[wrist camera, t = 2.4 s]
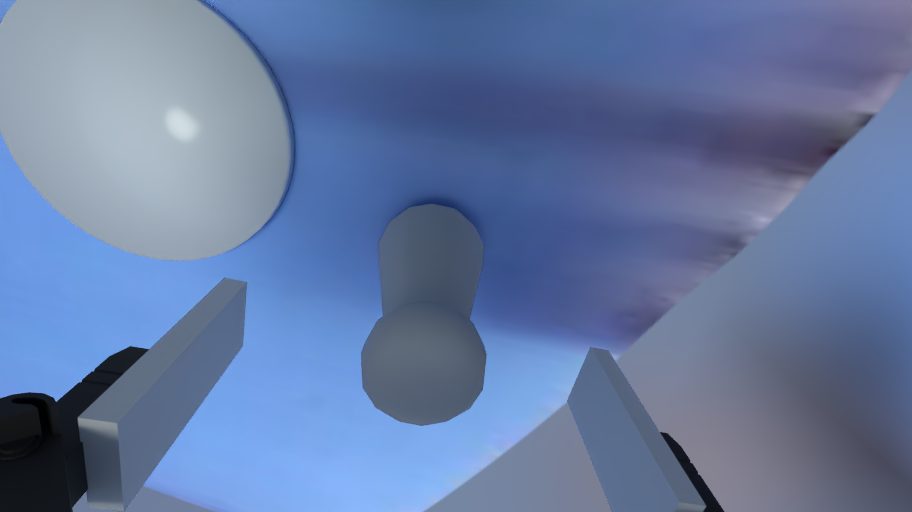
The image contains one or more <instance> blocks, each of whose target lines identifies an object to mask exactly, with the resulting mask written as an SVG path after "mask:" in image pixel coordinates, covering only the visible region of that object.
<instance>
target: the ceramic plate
mask: <svg viewBox="0 0 912 512" xmlns="http://www.w3.org/2000/svg"><path fill="white" fill-rule="evenodd" d="M0 132H1V134H2V137H3V139H4V141H5V144H6V146H7V147H8V149H9V151H10V153H11V155H12V157H13V158H14V160H15V162H16V163H17V165H18V166H19V168H20V169H21V171H22V172H23V174H24V175H25V176H26V178H27V179H28V180H29V182H30V183H31V184H32V185H33V186H34V188H35V189H36V190H37V191H38V192H39V194H40V195H41V196H42V197H43V198H44V199H45V200H46V201H47V202H48V203H49V204H50V205H51V206H52V207H53V208H54V209H56V210H57V211H58V212H59V213H60V214H62V215H63V216H64V217H65V218H67V219H68V220H69V221H70V222H72V223H73V224H75V225H76V226H78V227H79V228H81V229H82V230H83V231H85V232H86V233H88V234H90V235H92V236H94V237H95V238H97V239H99V240H101V241H103V242H105V243H107V244H109V245H112V246H114V247H116V248H118V249H121V250H124V251H127V252H130V253H133V254H136V255H140V256H144V257H149V258H154V259H161V260H171V261H188V260H196V259H204V258H208V257H212V256H216V255H219V254H222V253H224V252H227V251H229V250H231V249H234V248H235V247H237V246H238V245H240V244H242V243H243V242H245V241H247V240H248V239H249V238H250V237H251V236H253V235H254V234H255V233H256V232H257V231H258V230H260V229H261V228H262V227H263V226H264V225H265V224H266V223H267V222H268V221H269V220H270V219H271V217H272V216H273V215H274V214H275V213H276V211H277V209H278V208H279V206H280V205H281V203H282V202H283V199H284V197H285V195H286V192H287V190H288V188H289V184H290V181H291V177H292V173H293V165H294V157H295V155H294V135H293V128H292V121H291V118H290V114H289V110H288V107H287V103H286V101H285V98H284V96H283V93H282V91H281V89H280V86H279V84H278V82H277V80H276V78H275V77H274V75H273V73H272V71H271V69H270V67H269V66H268V64H267V63H266V62H265V60H264V59H263V57H262V56H261V54H260V53H259V51H258V50H257V49H256V48H255V47H254V45H253V44H252V43H251V42H250V41H249V40H248V38H247V37H246V36H245V35H244V34H243V33H242V32H241V31H240V30H239V29H238V28H237V27H236V26H235V25H234V24H233V23H232V22H230V21H229V20H228V19H227V18H226V17H225V16H223V15H222V14H221V13H219V12H218V11H217V10H215V9H214V8H213V7H211V6H210V5H209V4H207V3H205V2H203V1H202V0H16V2H15V3H14V4H13V5H12V7H11V8H10V9H9V10H8V12H7V13H6V14H5V16H4V18H3V20H2V22H1V24H0Z"/></svg>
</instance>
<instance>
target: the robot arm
mask: <svg viewBox="0 0 912 512" xmlns="http://www.w3.org/2000/svg"><path fill="white" fill-rule="evenodd" d="M246 289H247V282H243V281H238V280H233V279H227V278H224V279H223V280H222V281H221V282H220V283H219V284H218V285H217V286H215V287H214V288H213V289H212V290H211V291H210V292H209V293H208V294H207V295H206V296H205V297H204V298H203V299H202V300H201V301H200V302H199V303H198V304H197V305H195V306H194V307H193V308H192V309H191V310H190V311H189V312H188V313H187V314H186V315H185V316H184V317H183V318H182V319H181V320H180V321H179V322H178V323H177V324H176V325H174V326H173V327H172V328H171V329H170V330H169V331H168V332H167V333H166V334H165V335H164V336H163V337H162V338H161V339H160V340H159V341H158V342H157V343H156V344H154V345H153V346H152V347H151V348H150V349H144V348H138V347H131V346H130V347H128V348H126V349H124V350H122V351H120V352H118V353H115V354H113V355H111V356H109V357H108V358H107V359H106V360H105V361H104V362H102V363H101V364H100V365H99V366H98V367H97V368H95V370H94V372H91V373H90V374H88V375H87V376H86V377H85V378H84V379H83V380H82V382H81V383H80V382H79V383H78V384H77V385H76V386H74V387H73V388H72V389H71V390H70V391H69V392H67V393H66V394H65V395H64V396H63V397H62V398H60V399H59V400H58V401H57V402H56V401H55V399H54V398H53V397H51V396H48V395H46V394H44V393H30V392H29V393H22V394H14V395H10V396H7V397H3V398H0V512H73V511H72V507H73V506H74V505H75V504H76V502H77V501H78V500H79V499H80V498H81V496H82V495H83V494H84V493H85V492H87V500H88V508H95V509H104V510H113V511H121V512H124V511H125V510H126V508H127V507H128V505H129V504H130V503H131V501H132V500H133V498H134V497H135V496H136V494H137V493H138V491H139V490H140V488H141V487H142V486H143V484H144V483H145V482H146V480H147V479H148V477H149V476H150V475H151V473H152V472H153V470H154V469H155V468H156V466H157V465H158V464H159V462H160V461H161V459H162V458H163V457H164V455H165V454H166V452H167V451H168V450H169V448H170V447H171V445H172V444H173V443H174V441H175V440H176V438H177V437H178V436H179V434H180V433H181V431H182V430H183V429H184V427H185V426H186V424H187V423H188V422H189V420H190V419H191V418H192V416H193V415H194V413H195V412H196V411H197V409H198V408H199V406H200V405H201V404H202V402H203V401H204V399H205V398H206V397H207V395H208V394H209V392H210V391H211V390H212V388H213V387H214V385H215V384H216V383H217V381H218V380H219V378H220V377H221V376H222V374H223V373H224V372H225V370H226V369H227V367H228V366H229V365H230V363H231V362H232V360H233V359H234V358H235V356H236V355H237V353H238V352H239V351H240V349H241V348H242V346H243V335H244V320H245V305H246ZM567 402H568V404H569V407H570V409H571V412H572V414H573V417H574V419H575V422H576V424H577V426H578V429H579V432H580V434H581V436H582V439H583V441H584V444H585V446H586V449H587V451H588V454H589V456H590V459H591V461H592V464H593V466H594V469H595V471H596V474H597V476H598V478H599V481H600V483H601V486H602V488H603V491H604V493H605V496H606V498H607V501H608V503H609V506H610V508H611V511H612V512H724V511H723V509H722V508H721V506H720V505H719V503H718V502H717V500H716V498H715V497H714V496H713V494H712V493H711V491H710V490H709V488H708V486H707V485H706V484H705V482H704V480H703V479H702V478H701V476H700V475H698V471H697V470H696V468H695V467H694V465H693V464H692V463H690V459H689V458H688V456H687V455H686V453H685V452H684V450H683V449H682V447H681V446H680V445H679V444H678V443H677V442H676V441H675V440H673V438H672V437H671V436H669V435H668V434H667V433H662V432H659V430H658V428H657V427H656V425H655V424H654V422H653V421H652V419H651V417H650V416H649V414H648V413H647V411H646V410H645V408H644V406H643V405H642V403H641V402H640V400H639V398H638V397H637V395H636V394H635V392H634V390H633V389H632V387H631V386H630V384H629V383H628V381H627V379H626V378H625V376H624V375H623V373H622V372H621V370H620V368H619V367H618V365H617V364H616V362H615V360H614V359H613V357H612V356H611V354H610V352H609V351H608V350H603V349H598V348H592V347H590V349H589V352H588V354H587V356H586V359H585V361H584V363H583V365H582V368H581V370H580V372H579V375H578V377H577V379H576V382H575V384H574V386H573V388H572V391H571V393H570V395H569V398H568V400H567Z"/></svg>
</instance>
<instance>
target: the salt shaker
mask: <svg viewBox="0 0 912 512" xmlns="http://www.w3.org/2000/svg"><path fill="white" fill-rule="evenodd" d="M378 253H379V270H380V279H381V294H382V309H383V317H381V318H380V319H379V320H378V321H377V322H376V324H375V326H374V327H373V329H372V331H371V333H370V335H369V336H368V338H367V340H366V342H365V344H364V347H363V350H362V352H361V367H362V382H363V389H364V390H365V392H366V393H367V395H368V397H369V398H370V400H371V401H372V403H373V404H374V406H375V407H376V408H377V409H379V410H381V411H382V412H384V413H386V414H387V415H389V416H391V417H392V418H394V419H396V420H398V421H400V422H405V423H410V424H415V425H420V426H423V425H429V424H435V423H441V422H446V421H449V420H450V419H452V418H454V417H456V416H457V415H459V414H461V413H463V412H465V411H466V410H468V409H470V408H471V406H472V405H473V403H474V402H475V400H476V399H477V397H478V396H479V394H480V393H481V391H482V390H483V383H484V374H485V364H486V351H485V348H484V344H483V342H482V340H481V338H480V336H479V334H478V332H477V330H476V328H475V326H474V324H473V323H472V322H471V321H470V320H469V319H470V315H471V310H472V306H473V302H474V298H475V294H476V290H477V287H478V283H479V279H480V275H481V271H482V265H483V255H484V245H483V243H482V241H481V238H480V236H479V234H478V232H477V230H476V228H475V226H474V225H473V224H472V223H471V222H470V221H469V220H468V219H467V218H466V217H464V216H463V215H462V214H461V213H460V212H459V211H458V210H456V209H454V208H450V207H446V206H442V205H437V204H433V203H431V204H425V205H419V206H413V207H409V208H407V209H406V210H405V211H403V212H402V213H401V214H399V215H398V216H397V217H395V218H394V219H393V220H391V221H390V222H389V223H388V225H387V227H386V229H385V231H384V233H383V235H382V237H381V239H380V241H379V243H378Z"/></svg>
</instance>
